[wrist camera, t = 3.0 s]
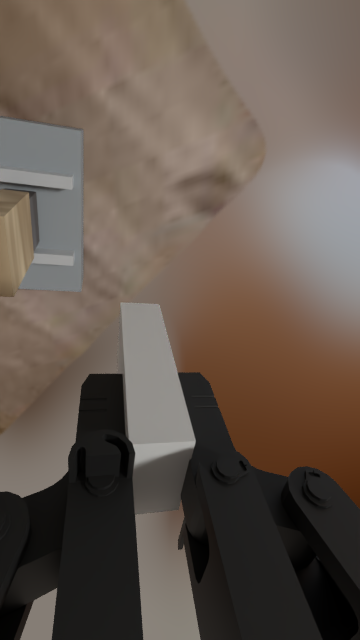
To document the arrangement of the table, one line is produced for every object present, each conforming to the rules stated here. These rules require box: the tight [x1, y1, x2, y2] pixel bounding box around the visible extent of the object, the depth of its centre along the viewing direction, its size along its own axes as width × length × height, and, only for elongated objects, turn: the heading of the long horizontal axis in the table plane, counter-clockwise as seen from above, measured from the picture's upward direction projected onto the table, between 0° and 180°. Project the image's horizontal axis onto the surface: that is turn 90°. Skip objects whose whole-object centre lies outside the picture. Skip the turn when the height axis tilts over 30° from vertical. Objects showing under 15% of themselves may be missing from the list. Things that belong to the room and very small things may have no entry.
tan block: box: [0, 188, 40, 297], centre depth 20 cm, size 2×4×8 cm, turn 171°
